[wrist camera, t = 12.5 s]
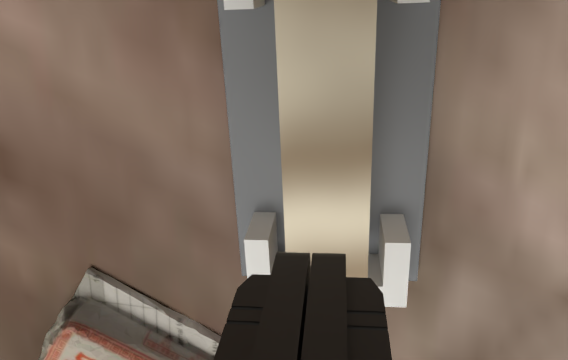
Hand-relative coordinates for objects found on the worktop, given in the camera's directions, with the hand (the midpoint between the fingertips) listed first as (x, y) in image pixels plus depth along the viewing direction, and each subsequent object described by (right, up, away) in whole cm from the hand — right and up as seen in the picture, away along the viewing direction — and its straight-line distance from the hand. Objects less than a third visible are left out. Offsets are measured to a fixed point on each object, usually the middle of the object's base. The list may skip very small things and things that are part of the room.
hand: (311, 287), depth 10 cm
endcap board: (+2, +6, +14) cm, 15 cm away
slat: (+2, +6, +13) cm, 14 cm away
